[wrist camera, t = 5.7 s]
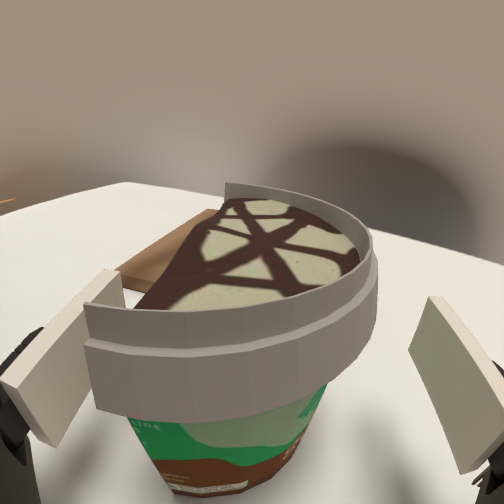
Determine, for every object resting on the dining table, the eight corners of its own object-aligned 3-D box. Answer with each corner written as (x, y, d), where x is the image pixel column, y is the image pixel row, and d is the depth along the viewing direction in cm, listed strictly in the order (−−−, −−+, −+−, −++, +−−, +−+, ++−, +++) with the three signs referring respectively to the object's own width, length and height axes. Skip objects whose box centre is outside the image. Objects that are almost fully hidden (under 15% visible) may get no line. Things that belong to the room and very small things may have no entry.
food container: (325, 541, 7) (484, 365, 3) (164, 521, 8) (63, 320, 4) (319, 350, 18) (350, 192, 14) (223, 340, 19) (227, 180, 15)
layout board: (113, 284, 24) (111, 269, 24) (207, 216, 44) (207, 207, 43) (358, 333, 20) (363, 317, 19) (347, 236, 40) (349, 226, 39)
